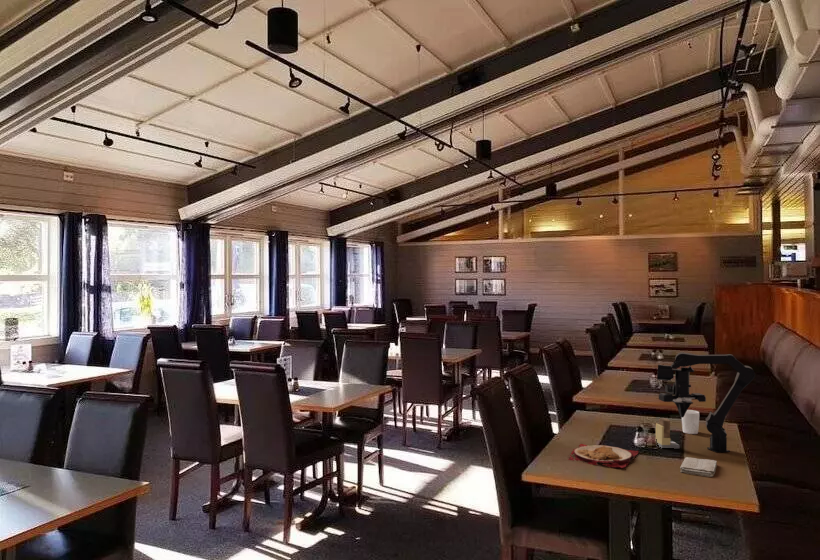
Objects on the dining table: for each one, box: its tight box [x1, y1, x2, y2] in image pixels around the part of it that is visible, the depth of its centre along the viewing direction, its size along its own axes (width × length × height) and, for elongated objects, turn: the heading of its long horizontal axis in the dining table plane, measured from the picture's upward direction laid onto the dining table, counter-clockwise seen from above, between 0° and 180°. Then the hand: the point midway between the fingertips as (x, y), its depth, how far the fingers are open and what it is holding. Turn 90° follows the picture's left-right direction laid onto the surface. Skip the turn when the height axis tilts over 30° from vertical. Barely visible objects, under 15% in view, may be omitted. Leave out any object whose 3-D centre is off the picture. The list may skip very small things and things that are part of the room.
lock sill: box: [655, 422, 680, 449], centre depth 272 cm, size 8×6×10 cm
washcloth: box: [679, 456, 718, 478], centre depth 241 cm, size 12×18×3 cm, turn 151°
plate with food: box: [567, 443, 639, 469], centre depth 257 cm, size 25×26×4 cm
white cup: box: [681, 409, 700, 435], centre depth 298 cm, size 8×8×10 cm
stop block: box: [658, 417, 671, 439], centre depth 272 cm, size 3×4×10 cm
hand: (681, 417), depth 272 cm, fingers closed
